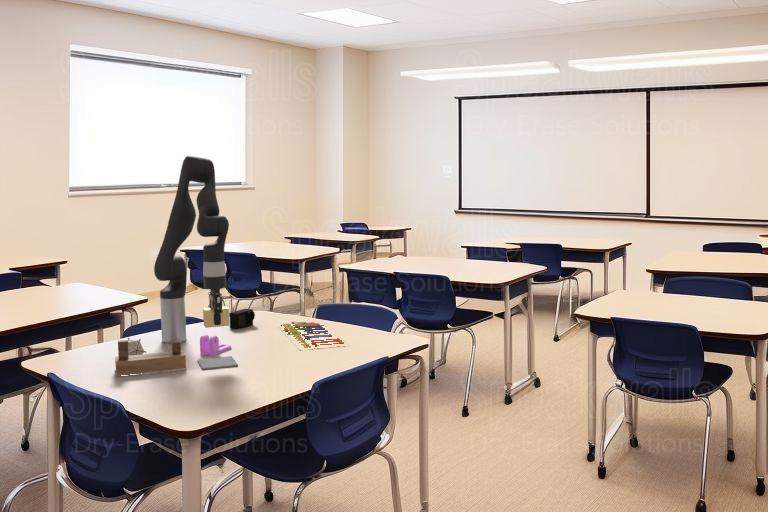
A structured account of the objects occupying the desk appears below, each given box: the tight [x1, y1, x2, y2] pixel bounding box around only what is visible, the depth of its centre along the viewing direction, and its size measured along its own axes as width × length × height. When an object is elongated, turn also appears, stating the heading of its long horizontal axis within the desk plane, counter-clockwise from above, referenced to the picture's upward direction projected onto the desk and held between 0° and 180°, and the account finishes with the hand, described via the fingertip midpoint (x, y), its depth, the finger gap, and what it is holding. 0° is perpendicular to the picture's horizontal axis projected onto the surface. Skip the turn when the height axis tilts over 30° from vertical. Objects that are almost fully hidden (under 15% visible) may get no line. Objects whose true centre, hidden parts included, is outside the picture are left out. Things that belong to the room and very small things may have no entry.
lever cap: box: [202, 305, 230, 329], centre depth 254 cm, size 4×8×7 cm, turn 112°
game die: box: [127, 337, 147, 356], centre depth 259 cm, size 9×8×10 cm
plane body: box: [114, 339, 188, 377], centre depth 247 cm, size 7×22×11 cm, turn 112°
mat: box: [196, 355, 239, 371], centre depth 256 cm, size 12×12×1 cm
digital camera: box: [229, 308, 256, 331], centre depth 313 cm, size 10×5×7 cm, turn 152°
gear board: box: [281, 321, 345, 348], centre depth 298 cm, size 45×2×19 cm
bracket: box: [199, 334, 232, 357], centre depth 273 cm, size 13×6×7 cm, turn 156°
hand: (216, 323), depth 254 cm, fingers closed on lever cap, 4 cm apart
